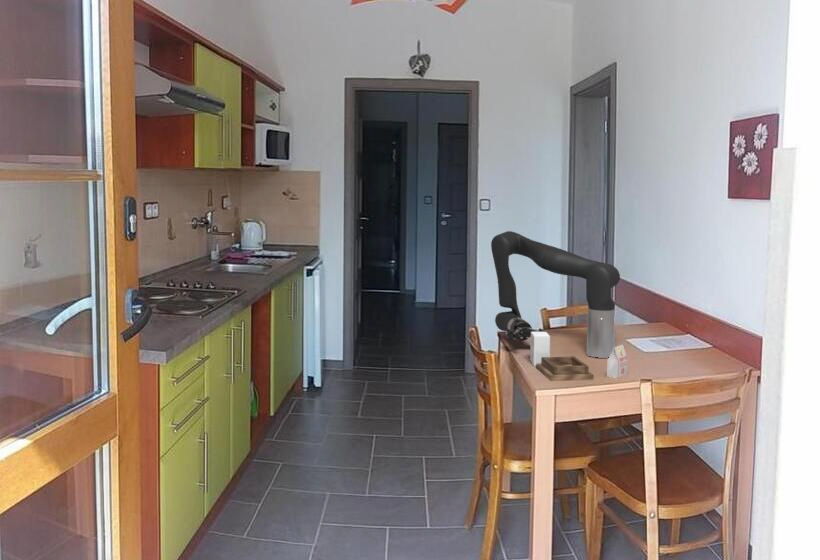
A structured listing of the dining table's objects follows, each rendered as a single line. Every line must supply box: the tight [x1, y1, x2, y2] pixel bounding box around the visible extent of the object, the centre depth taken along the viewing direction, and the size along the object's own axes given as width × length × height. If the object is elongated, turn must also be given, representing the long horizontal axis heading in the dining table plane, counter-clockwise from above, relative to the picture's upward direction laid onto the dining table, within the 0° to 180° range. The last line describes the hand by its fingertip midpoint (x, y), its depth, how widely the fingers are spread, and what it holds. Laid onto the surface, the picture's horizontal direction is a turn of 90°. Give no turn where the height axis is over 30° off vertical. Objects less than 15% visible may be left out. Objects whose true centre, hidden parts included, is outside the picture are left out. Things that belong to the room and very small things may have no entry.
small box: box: [529, 331, 551, 367], centre depth 251 cm, size 8×6×10 cm
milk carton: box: [606, 344, 628, 379], centre depth 235 cm, size 4×7×10 cm, turn 139°
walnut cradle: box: [535, 355, 595, 382], centre depth 238 cm, size 14×16×4 cm
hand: (531, 338), depth 261 cm, fingers open, 8 cm apart
